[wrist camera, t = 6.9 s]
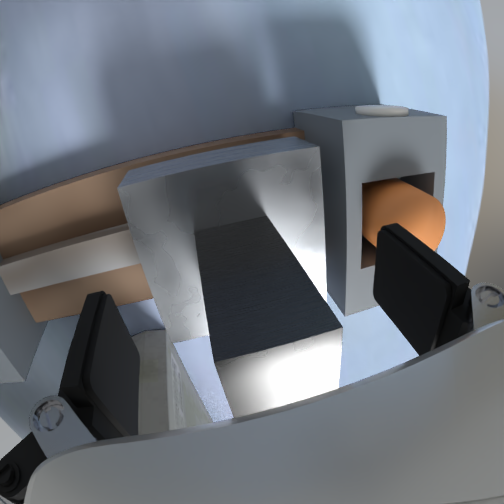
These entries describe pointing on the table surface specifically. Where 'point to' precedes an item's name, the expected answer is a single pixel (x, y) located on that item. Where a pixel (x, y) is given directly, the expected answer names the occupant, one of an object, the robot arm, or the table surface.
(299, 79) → the table surface
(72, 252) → the rail base
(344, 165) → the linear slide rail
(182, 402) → the geiger counter
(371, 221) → the button
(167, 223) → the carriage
